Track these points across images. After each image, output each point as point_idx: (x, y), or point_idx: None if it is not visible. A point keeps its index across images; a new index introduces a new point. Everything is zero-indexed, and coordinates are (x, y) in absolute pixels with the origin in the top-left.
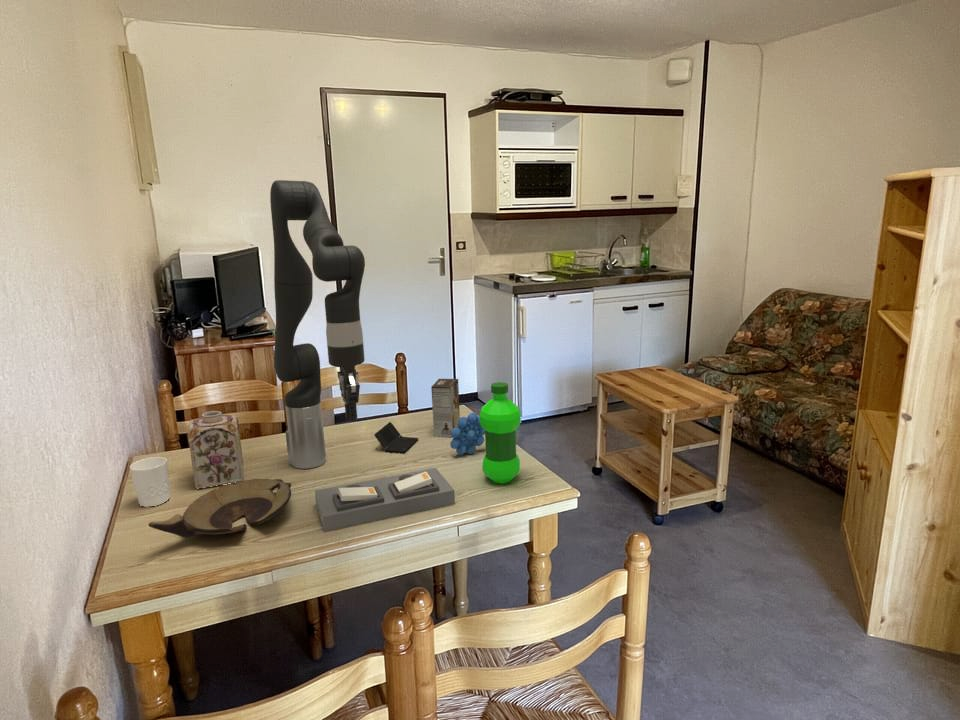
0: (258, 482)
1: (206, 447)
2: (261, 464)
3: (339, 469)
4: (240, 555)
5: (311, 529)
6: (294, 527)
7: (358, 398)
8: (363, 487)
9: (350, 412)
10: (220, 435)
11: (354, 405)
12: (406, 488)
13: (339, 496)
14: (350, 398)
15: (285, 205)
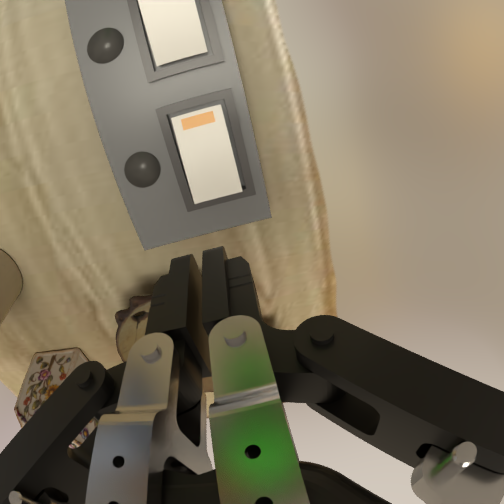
0: (123, 342)
1: (89, 424)
2: (23, 333)
3: (12, 216)
4: (303, 307)
5: (251, 227)
6: (237, 255)
7: (388, 342)
8: (179, 142)
9: (259, 308)
10: None
11: (260, 319)
12: (202, 33)
13: (191, 195)
14: (339, 392)
15: None
